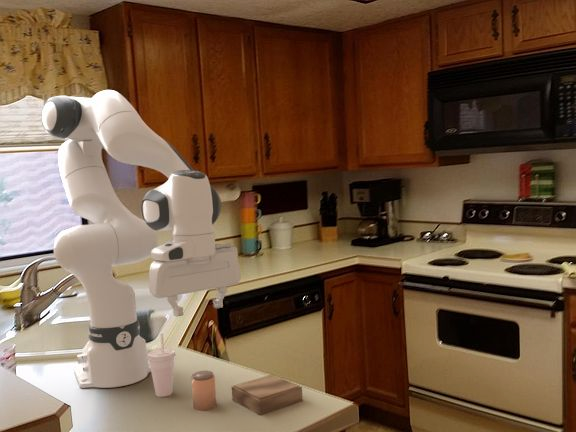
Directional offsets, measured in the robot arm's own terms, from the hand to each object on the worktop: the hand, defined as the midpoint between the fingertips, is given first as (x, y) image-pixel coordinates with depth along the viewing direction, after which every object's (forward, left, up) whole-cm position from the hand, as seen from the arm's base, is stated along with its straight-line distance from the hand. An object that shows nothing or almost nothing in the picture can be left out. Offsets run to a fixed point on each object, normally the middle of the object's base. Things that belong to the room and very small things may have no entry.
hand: (198, 311), depth 129 cm
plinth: (+7, +11, -21) cm, 25 cm away
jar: (0, 0, -21) cm, 21 cm away
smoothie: (-13, -4, -21) cm, 25 cm away
